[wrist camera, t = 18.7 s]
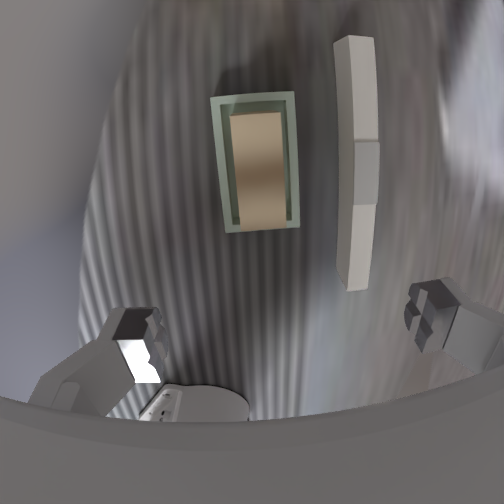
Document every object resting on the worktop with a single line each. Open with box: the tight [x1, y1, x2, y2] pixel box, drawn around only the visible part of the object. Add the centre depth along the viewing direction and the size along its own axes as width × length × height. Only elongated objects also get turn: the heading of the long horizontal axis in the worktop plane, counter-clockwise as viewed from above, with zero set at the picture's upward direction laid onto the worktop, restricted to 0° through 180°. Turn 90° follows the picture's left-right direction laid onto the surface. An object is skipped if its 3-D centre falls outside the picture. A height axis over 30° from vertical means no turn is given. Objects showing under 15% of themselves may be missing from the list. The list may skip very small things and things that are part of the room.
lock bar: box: [230, 110, 287, 231], centre depth 28 cm, size 10×4×6 cm, turn 4°
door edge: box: [333, 35, 380, 291], centre depth 29 cm, size 26×2×5 cm, turn 5°
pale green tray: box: [210, 91, 300, 233], centre depth 30 cm, size 14×8×3 cm, turn 5°
